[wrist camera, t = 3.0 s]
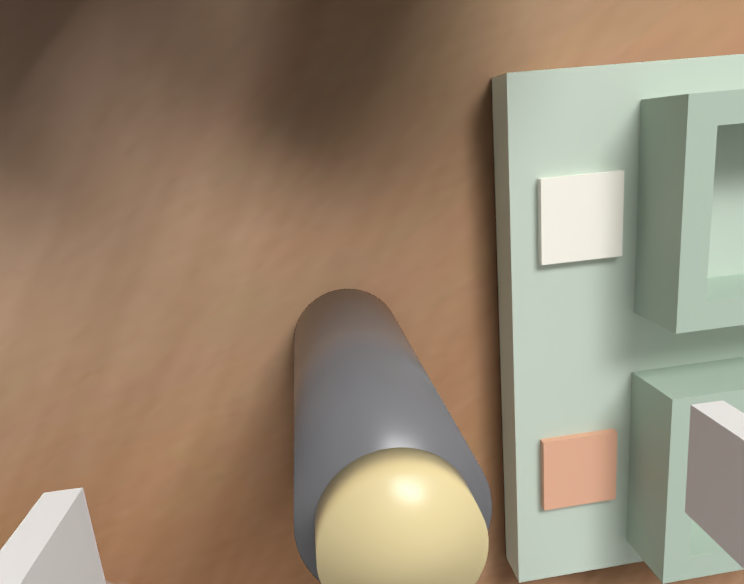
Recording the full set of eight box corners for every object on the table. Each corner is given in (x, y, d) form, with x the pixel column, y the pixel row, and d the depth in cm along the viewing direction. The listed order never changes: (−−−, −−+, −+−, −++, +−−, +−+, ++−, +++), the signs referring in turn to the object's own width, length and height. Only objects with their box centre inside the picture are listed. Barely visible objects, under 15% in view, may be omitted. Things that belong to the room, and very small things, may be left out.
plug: (300, 394, 22) (307, 660, 11) (287, 295, 21) (280, 473, 10) (402, 381, 23) (511, 624, 11) (394, 283, 22) (506, 440, 10)
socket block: (506, 557, 26) (543, 631, 22) (491, 77, 20) (537, 63, 17) (796, 508, 27) (879, 569, 23) (852, 48, 22) (970, 28, 18)
